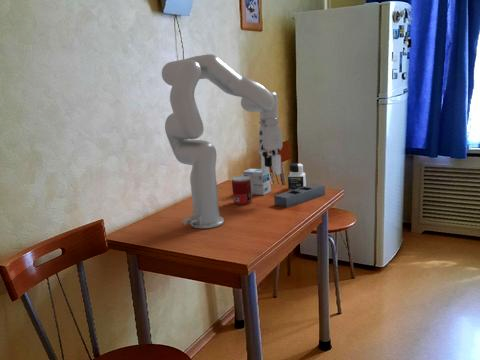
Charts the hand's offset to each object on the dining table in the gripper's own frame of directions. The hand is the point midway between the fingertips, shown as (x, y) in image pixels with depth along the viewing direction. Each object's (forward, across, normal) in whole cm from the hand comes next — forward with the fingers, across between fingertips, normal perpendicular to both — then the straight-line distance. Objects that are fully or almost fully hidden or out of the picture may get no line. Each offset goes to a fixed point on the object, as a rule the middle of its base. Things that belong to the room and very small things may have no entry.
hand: (271, 165), depth 186 cm
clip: (+3, 0, 0) cm, 3 cm away
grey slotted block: (+15, +8, -9) cm, 19 cm away
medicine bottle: (+15, +20, +4) cm, 25 cm away
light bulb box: (+16, +5, +15) cm, 22 cm away
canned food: (+16, -10, +8) cm, 20 cm away
